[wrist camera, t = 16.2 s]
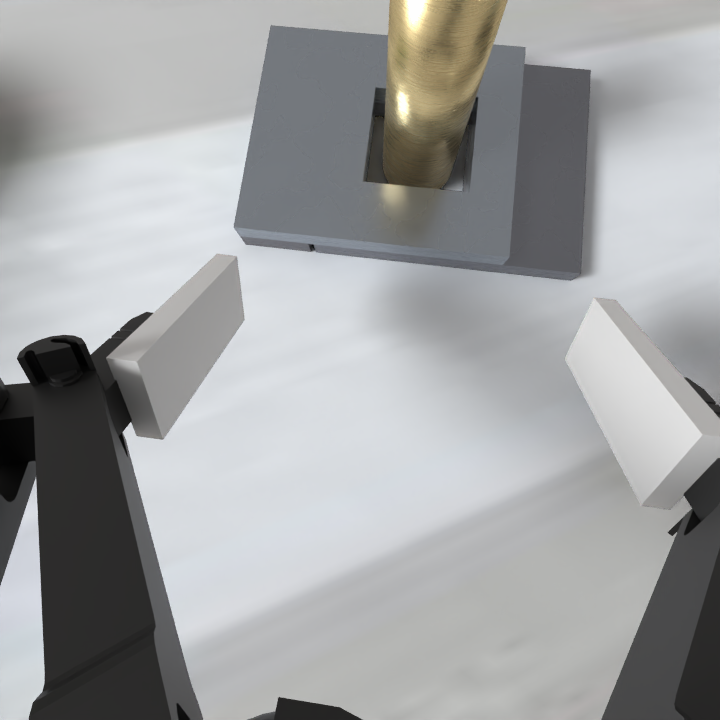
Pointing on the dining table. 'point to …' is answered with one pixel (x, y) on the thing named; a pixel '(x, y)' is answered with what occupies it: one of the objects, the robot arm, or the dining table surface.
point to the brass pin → (433, 83)
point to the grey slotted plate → (350, 154)
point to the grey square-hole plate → (534, 180)
